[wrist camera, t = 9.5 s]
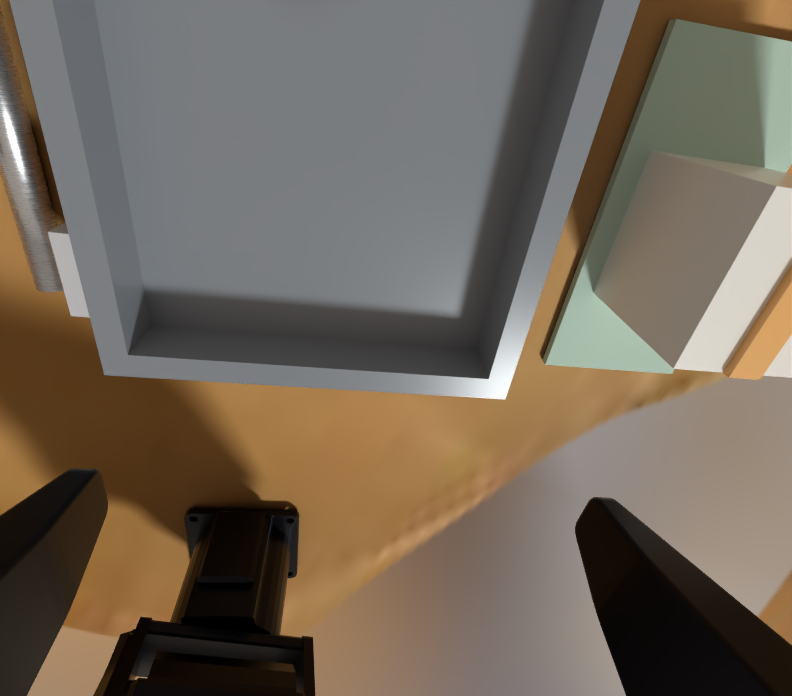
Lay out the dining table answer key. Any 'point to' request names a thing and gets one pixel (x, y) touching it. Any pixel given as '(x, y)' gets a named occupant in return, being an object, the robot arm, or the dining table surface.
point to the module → (706, 266)
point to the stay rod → (25, 174)
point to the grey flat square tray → (316, 180)
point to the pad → (684, 135)
